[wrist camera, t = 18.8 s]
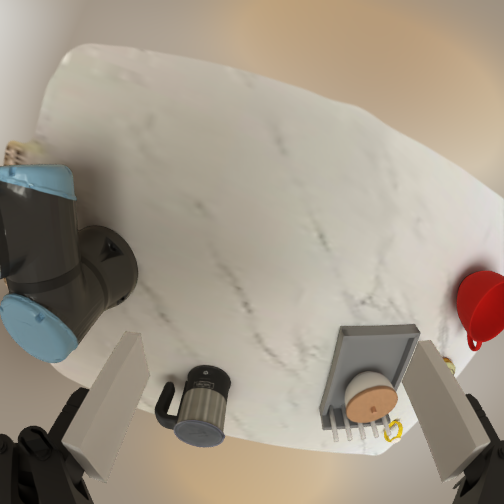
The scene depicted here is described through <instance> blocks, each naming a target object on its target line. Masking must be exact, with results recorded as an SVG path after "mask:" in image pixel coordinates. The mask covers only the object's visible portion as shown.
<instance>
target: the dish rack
mask: <svg viewBox="0 0 504 504" xmlns="http://www.w3.org/2000/svg"><path fill="white" fill-rule="evenodd" d="M419 336H420V331H419V330H418V328H417V327H416V325H415V324H413V325H389V326H341V327H340V331H339V336H338V340H337V344H336V349H335V353H334V357H333V361H332V365H331V369H330V373H329V376H328V380H327V384H326V388H325V391H324V395H323V398H322V402H321V405H320V415H321V422H322V428H323V430H332V432H333V438H334V442H338V441H339V438H338V433H337V429H346V433H347V438H348V441H351V440H352V439H353V438H352V434H351V429H350V428H358V427H359V431H360V435H361V439H365V438H366V435H365V432H364V428H363V427H367V426H371V427H372V430H373V434H374V437H375V438H377V437H379V434H378V431H377V427H376V425H383V424H384V427H385V431H386V434H387V436H390V435H391V431H390V428H389V425H388V424H389V423H390V422H391V421H390V418H389V415H388V414H387V415H385V416H384V417H382V418H380V419H377V420H375V421H372V422H367V423H357V422H353V421H351V420H350V419H349V418H348V417H347V415H346V408H345V400H344V399H345V391H346V388H347V386H348V384H349V383H350V382H351V381H352V379H353V378H354V377H355V376H356V375H358V374H359V373H362V372H365V371H373V372H377V373H380V374H382V375H384V376H385V377H386V378H387V379H388V380H389V381H390V382H391V384H392V386H393V388H394V390H395V391H397V389H398V386H399V384H400V382H401V380H402V378H403V375H404V373H405V371H406V368H407V366H408V364H409V361H410V359H411V356H412V354H413V351H414V349H415V346H416V344H417V341H418V338H419Z"/></svg>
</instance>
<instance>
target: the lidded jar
mask: <svg viewBox="0 0 504 504" xmlns="http://www.w3.org/2000/svg"><path fill="white" fill-rule="evenodd" d="M344 400H345V408H346V415H347V417H348V418H349V419H350V420H351V421H353V422H357V423H367V422H372V421H375V420H377V419H380V418H382V417H384V416H385V415H387V414H388V413H389V412H390V411H391V410H392V409H393V408H394V407H395V405H396V403H397V400H398V396H397V393H396V391H395V390H394V388H393V386H392V384H391V382H390V381H389V380H388V379H387V378H386V377H385V376H384V375H382V374H380V373H377V372H373V371H365V372H362V373H359V374H358V375H356V376H355V377H354V378H353V379H352V381H351V382H350V383H349V384H348V386H347V388H346V391H345V399H344Z"/></svg>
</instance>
